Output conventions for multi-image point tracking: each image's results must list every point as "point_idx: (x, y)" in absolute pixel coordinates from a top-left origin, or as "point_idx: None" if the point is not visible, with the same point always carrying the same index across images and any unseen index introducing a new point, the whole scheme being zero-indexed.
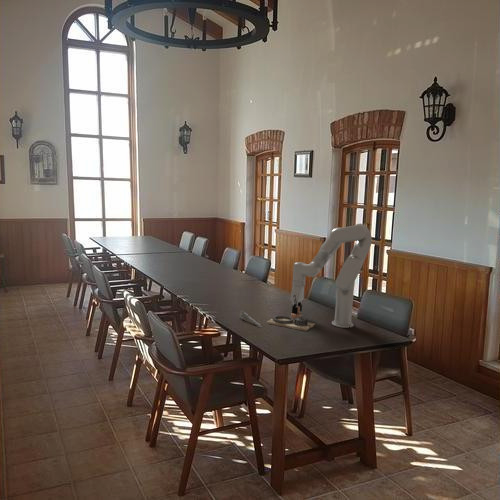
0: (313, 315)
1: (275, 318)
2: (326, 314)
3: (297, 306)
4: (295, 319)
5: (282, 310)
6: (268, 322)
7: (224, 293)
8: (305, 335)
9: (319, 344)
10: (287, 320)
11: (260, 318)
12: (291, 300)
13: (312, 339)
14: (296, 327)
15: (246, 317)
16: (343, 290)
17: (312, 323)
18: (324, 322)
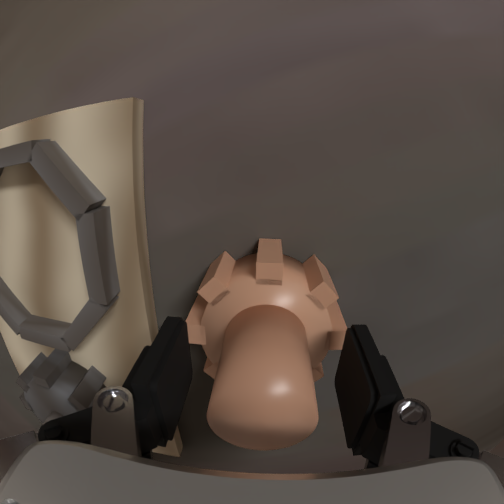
0: (455, 372)
1: None
2: (489, 407)
3: (270, 424)
4: (19, 384)
5: (493, 59)
6: None
7: None
8: (12, 404)
9: (6, 435)
10: (66, 279)
11: (51, 8)
12: (24, 468)
13: (11, 423)
14: (19, 371)
15: None
16: None
17: (160, 447)
18: (295, 468)
